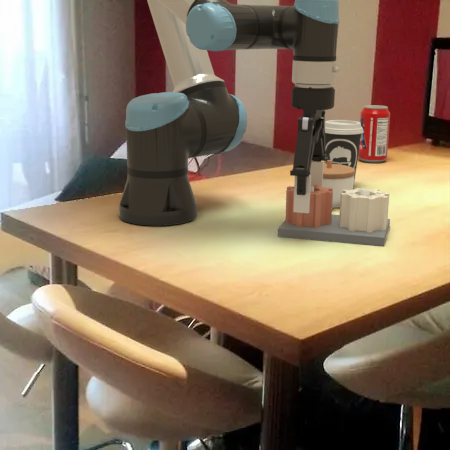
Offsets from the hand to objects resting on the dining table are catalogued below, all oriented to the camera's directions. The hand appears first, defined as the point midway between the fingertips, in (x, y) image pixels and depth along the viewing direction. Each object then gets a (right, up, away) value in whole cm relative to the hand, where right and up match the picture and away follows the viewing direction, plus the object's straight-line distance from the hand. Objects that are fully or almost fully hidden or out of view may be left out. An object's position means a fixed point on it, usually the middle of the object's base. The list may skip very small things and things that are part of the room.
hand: (308, 203), depth 135 cm
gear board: (+5, -5, 0) cm, 7 cm away
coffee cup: (+11, +5, +36) cm, 38 cm away
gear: (0, -3, +1) cm, 3 cm away
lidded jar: (+6, 0, +20) cm, 21 cm away
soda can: (+25, +13, +69) cm, 74 cm away
